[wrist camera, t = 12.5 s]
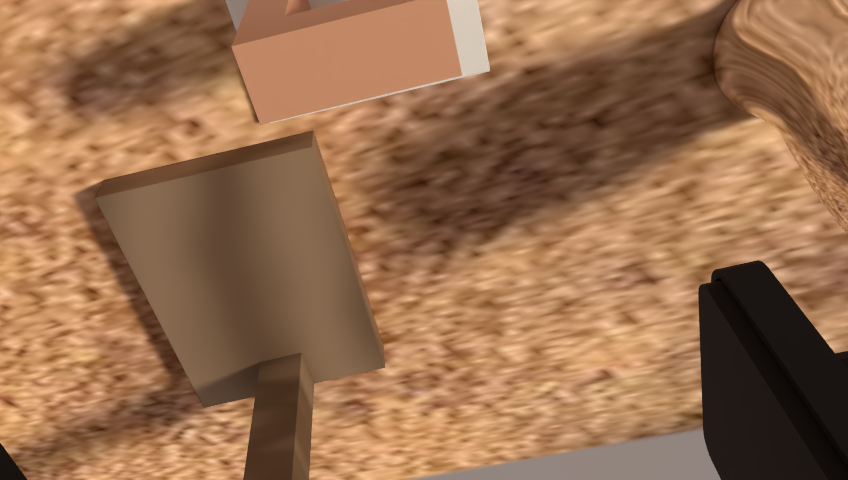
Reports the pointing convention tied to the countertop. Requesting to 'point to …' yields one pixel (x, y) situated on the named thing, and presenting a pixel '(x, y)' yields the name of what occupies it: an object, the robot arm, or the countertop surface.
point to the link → (340, 52)
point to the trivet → (463, 26)
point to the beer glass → (794, 83)
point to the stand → (250, 284)
